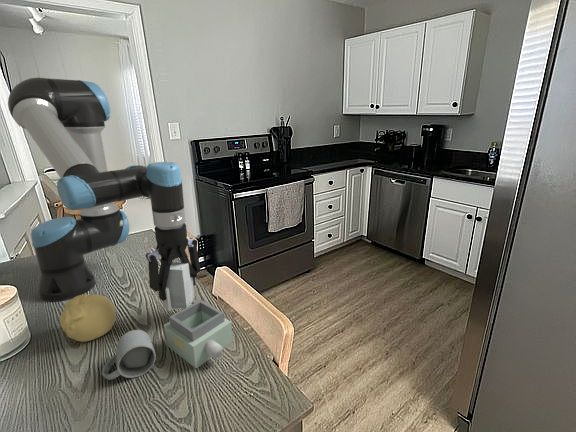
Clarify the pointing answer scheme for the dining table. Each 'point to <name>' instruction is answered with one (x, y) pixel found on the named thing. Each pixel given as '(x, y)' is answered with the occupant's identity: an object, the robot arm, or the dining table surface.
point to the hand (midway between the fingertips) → (179, 302)
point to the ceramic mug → (131, 356)
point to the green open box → (198, 333)
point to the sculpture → (87, 317)
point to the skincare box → (179, 285)
